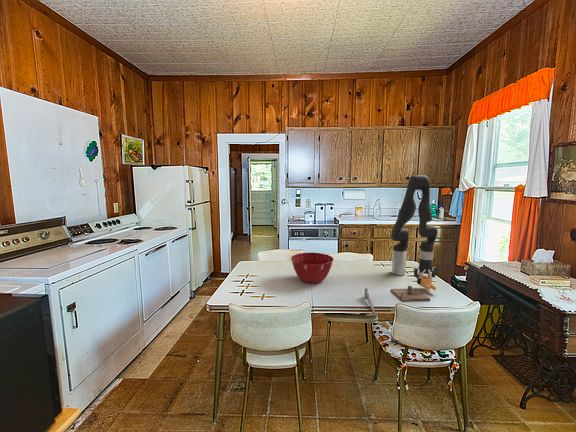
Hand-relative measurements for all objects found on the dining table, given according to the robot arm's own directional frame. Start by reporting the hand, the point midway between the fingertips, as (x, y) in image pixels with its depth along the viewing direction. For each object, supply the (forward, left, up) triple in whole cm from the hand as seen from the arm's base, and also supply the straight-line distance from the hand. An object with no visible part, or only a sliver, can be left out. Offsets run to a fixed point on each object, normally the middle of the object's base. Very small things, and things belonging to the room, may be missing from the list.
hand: (424, 283), depth 185 cm
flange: (+3, 0, -1) cm, 3 cm away
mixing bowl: (-21, -67, -4) cm, 70 cm away
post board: (+10, -14, -3) cm, 17 cm away
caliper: (+20, -42, -4) cm, 46 cm away
